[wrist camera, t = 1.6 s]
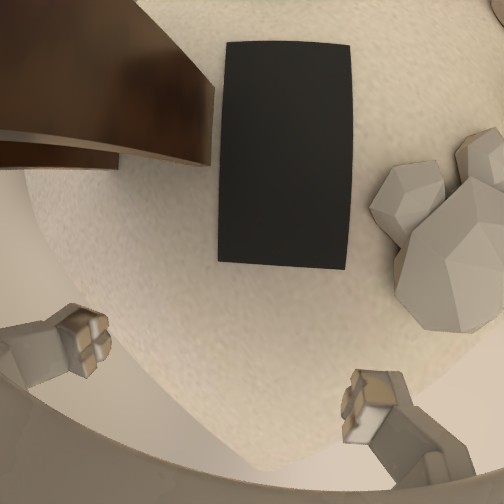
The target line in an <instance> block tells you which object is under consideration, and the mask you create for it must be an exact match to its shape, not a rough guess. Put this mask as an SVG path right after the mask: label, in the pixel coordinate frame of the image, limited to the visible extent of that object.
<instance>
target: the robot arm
mask: <svg viewBox="0 0 504 504" xmlns="http://www.w3.org/2000/svg"><path fill="white" fill-rule="evenodd" d="M108 327H109V321H108V317H107V316H106V315H105V314H103V313H100V312H97V311H94V310H92V309H89V308H86V307H83V306H81V305H78V304H75V303H70V304H68V305H67V306H65V307H64V308H62V309H61V310H60V311H58V312H57V313H55V314H54V315H52V316H51V317H50V318H48V319H47V320H46V321H36V322H31V323H26V324H21V325H16V326H11V327H6V328H1V329H0V504H504V468H501V469H498V470H495V471H491V472H488V473H485V474H481V475H476V473H475V469H474V467H473V464H472V461H471V458H470V455H469V452H468V450H467V447H466V446H465V445H464V444H463V443H462V442H460V441H459V440H458V439H457V438H456V437H454V436H453V435H452V434H451V433H449V432H448V431H447V430H446V429H445V428H443V427H442V426H441V425H440V424H439V423H437V422H436V421H435V420H433V418H431V417H430V416H429V415H428V414H427V413H425V412H424V411H423V410H422V409H420V408H419V407H418V406H413V402H412V400H411V397H410V394H409V391H408V388H407V385H406V383H405V380H404V377H403V374H402V373H401V372H400V371H374V370H363V369H355V371H354V372H353V374H352V376H351V386H350V387H348V388H347V389H346V390H345V393H344V395H343V399H342V403H341V417H342V418H343V419H344V420H345V422H344V424H343V426H342V435H343V443H348V444H365V445H366V444H367V445H369V447H370V449H371V450H372V451H373V453H374V454H375V455H376V456H377V458H378V459H379V461H380V462H381V463H382V465H383V466H384V467H385V469H386V470H387V471H388V473H389V474H390V475H391V477H392V478H393V479H394V481H395V482H396V483H397V484H396V485H395V486H394V487H393V488H392V489H391V490H381V491H319V490H305V489H294V488H285V487H277V486H270V485H263V484H257V483H251V482H246V481H240V480H235V479H231V478H226V477H222V476H217V475H213V474H209V473H205V472H202V471H198V470H194V469H191V468H187V467H184V466H181V465H178V464H174V463H171V462H168V461H165V460H162V459H160V458H157V457H154V456H151V455H149V454H146V453H143V452H141V451H138V450H136V449H133V448H131V447H128V446H126V445H124V444H121V443H119V442H117V441H114V440H112V439H110V438H108V437H106V436H104V435H102V434H99V433H97V432H95V431H93V430H91V429H89V428H87V427H85V426H83V425H82V424H80V423H78V422H76V421H74V420H72V419H71V418H69V417H67V416H65V415H63V414H62V413H60V412H58V411H57V410H55V409H53V408H52V407H50V406H48V405H47V404H45V403H44V402H42V401H41V400H39V399H37V398H36V397H34V396H32V395H31V394H30V393H29V392H28V390H27V389H28V388H30V387H33V386H36V385H38V384H40V383H43V382H45V381H48V380H50V379H52V378H55V377H57V376H60V375H62V374H64V373H67V372H68V371H70V372H73V373H75V374H77V375H79V376H82V377H84V378H86V379H87V378H88V377H89V376H90V375H91V374H92V373H93V372H94V371H95V370H96V368H97V363H98V362H101V361H104V360H105V359H106V358H107V356H108V355H109V352H110V350H111V343H112V341H111V336H110V334H109V333H108V331H107V328H108Z"/></svg>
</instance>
